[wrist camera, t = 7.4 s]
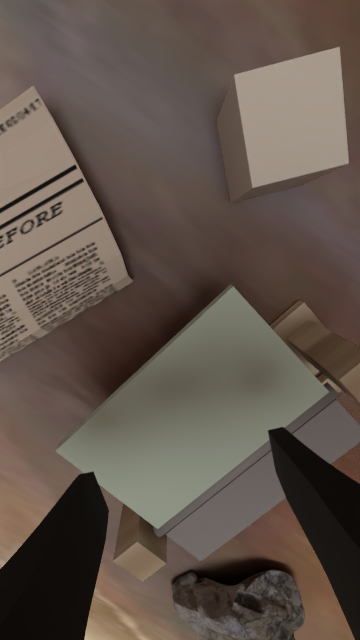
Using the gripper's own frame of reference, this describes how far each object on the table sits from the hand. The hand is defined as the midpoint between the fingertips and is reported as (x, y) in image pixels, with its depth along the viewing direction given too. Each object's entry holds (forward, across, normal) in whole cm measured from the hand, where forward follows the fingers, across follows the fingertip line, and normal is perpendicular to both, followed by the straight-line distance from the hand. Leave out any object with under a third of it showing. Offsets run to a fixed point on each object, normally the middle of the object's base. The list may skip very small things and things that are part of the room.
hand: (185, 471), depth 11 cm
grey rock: (+11, 0, +24) cm, 27 cm away
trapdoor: (+8, -1, +2) cm, 9 cm away
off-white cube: (+10, -8, -13) cm, 19 cm away
